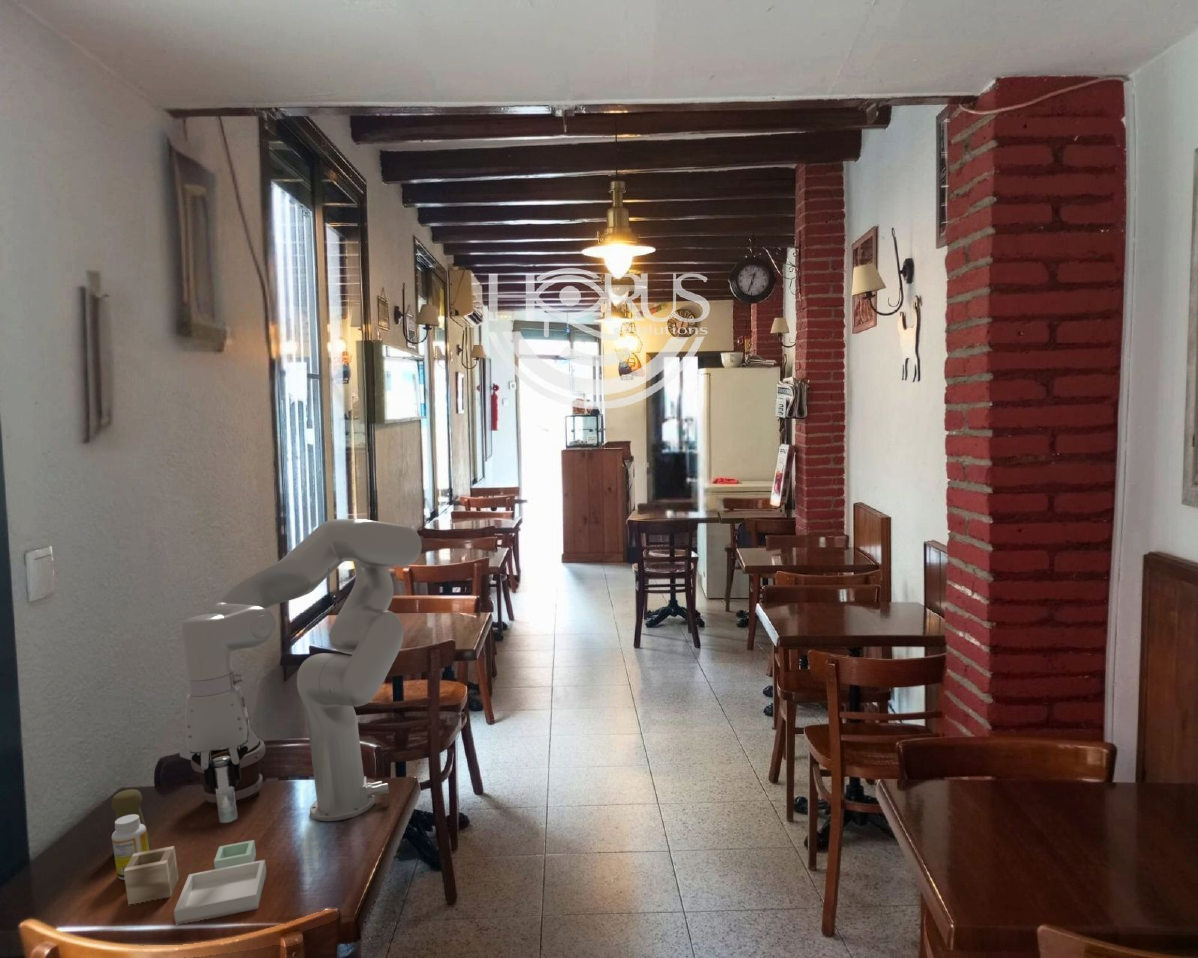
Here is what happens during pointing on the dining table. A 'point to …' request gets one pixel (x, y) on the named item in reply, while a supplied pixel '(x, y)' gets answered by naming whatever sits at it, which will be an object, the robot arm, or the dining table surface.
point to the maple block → (151, 875)
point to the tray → (221, 892)
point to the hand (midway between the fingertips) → (224, 785)
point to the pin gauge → (224, 789)
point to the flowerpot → (249, 774)
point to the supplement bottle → (128, 841)
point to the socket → (235, 854)
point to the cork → (128, 805)
